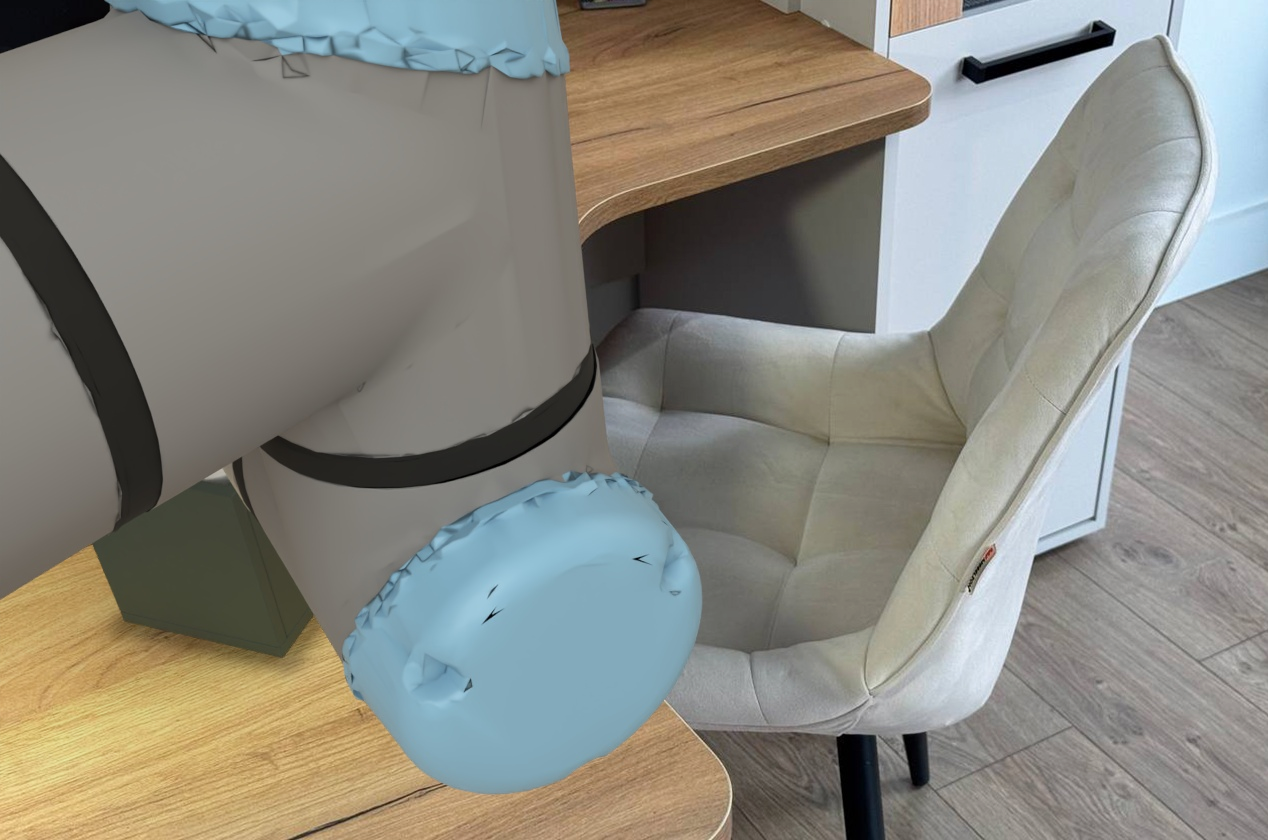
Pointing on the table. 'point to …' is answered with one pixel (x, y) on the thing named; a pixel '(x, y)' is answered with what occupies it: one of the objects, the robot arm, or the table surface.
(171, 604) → the trash bin
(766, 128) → the table surface
